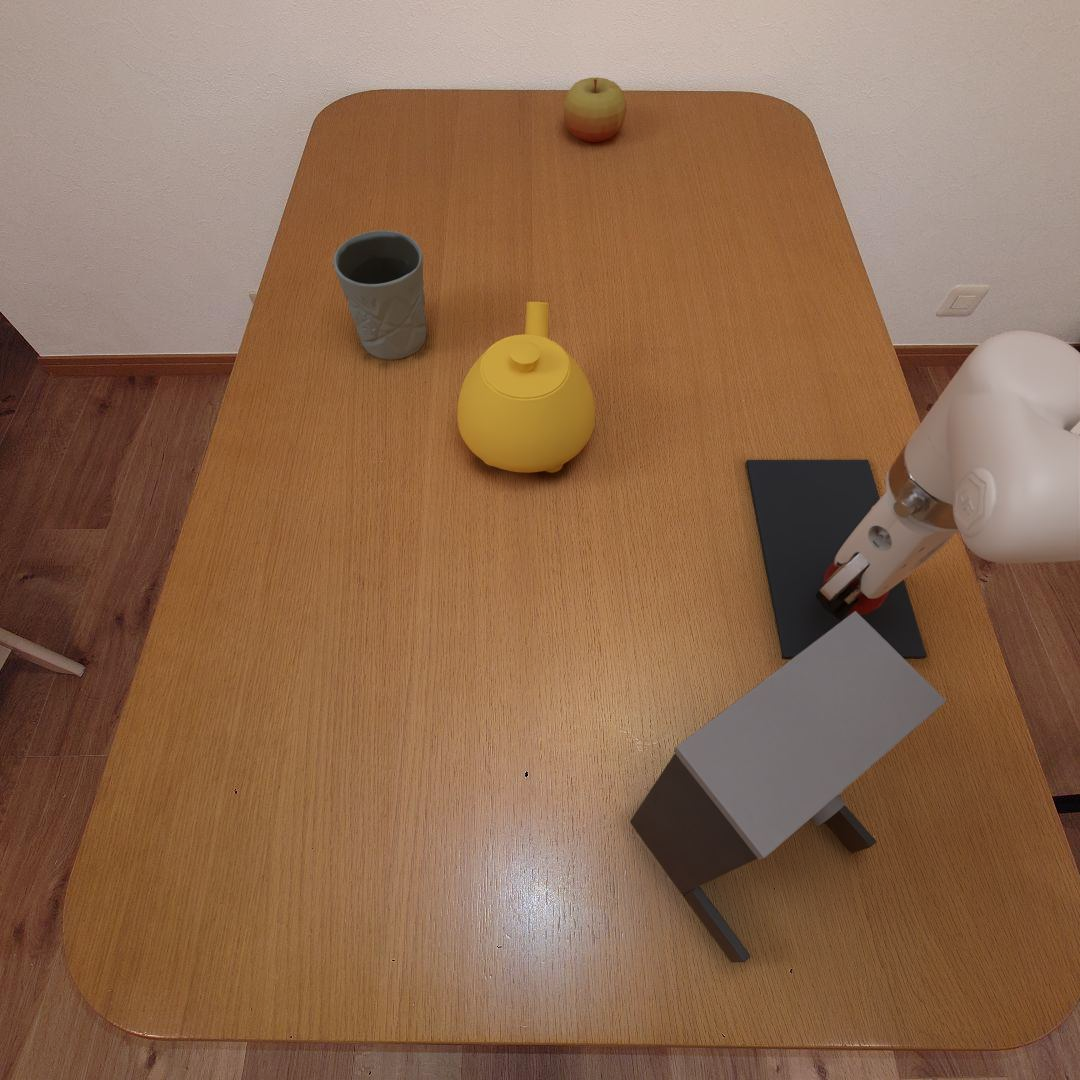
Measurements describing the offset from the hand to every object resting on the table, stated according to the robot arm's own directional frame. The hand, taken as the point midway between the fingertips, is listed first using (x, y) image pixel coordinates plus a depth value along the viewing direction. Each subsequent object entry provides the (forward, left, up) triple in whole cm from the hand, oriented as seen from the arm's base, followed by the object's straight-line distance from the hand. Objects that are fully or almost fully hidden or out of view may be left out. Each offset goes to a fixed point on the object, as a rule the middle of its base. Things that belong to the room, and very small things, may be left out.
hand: (853, 588), depth 69 cm
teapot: (+38, +12, -5) cm, 40 cm away
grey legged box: (-10, +23, -4) cm, 26 cm away
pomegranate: (0, 0, -3) cm, 3 cm away
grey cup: (+60, +18, -5) cm, 63 cm away
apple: (+82, -31, -5) cm, 88 cm away
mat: (+5, -4, -4) cm, 8 cm away
